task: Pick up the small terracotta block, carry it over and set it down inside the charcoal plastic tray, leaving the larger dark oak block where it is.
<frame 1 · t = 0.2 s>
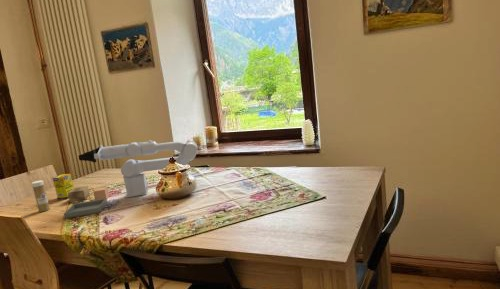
hand: (82, 156, 171), 21 cm above the table, tool horizontal, fingers open, 7 cm apart
tray: (86, 210, 163), on the table
sprinkles bottle: (44, 210, 172), on the table
terracotta block: (102, 199, 177), on the table
supplement box: (66, 197, 189), on the table
oak block: (80, 199, 182), on the table
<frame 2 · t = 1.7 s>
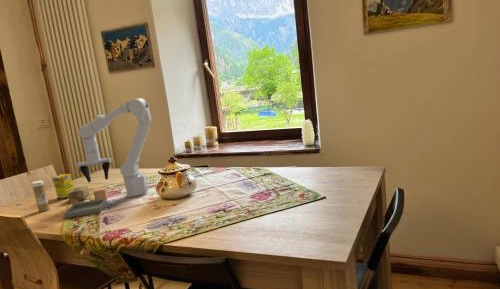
hand: (98, 180, 175), 9 cm above the table, tool pointing down, fingers open, 7 cm apart
nothing on the table moved.
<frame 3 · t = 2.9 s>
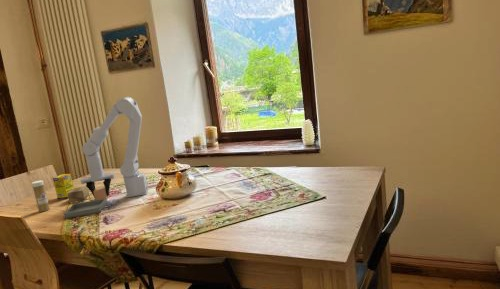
hand: (101, 196, 176), 1 cm above the table, tool pointing down, fingers closed on terracotta block, 5 cm apart
terracotta block: (102, 199, 177), on the table, touching gripper
everything else where it was.
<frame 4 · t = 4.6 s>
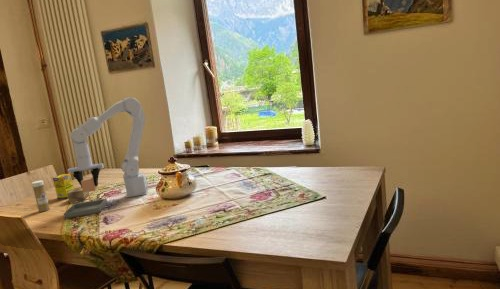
hand: (90, 186, 167), 8 cm above the table, tool pointing down, fingers closed on terracotta block, 5 cm apart
terracotta block: (90, 189, 168), point 7 cm above the table, touching gripper
everything else where it was.
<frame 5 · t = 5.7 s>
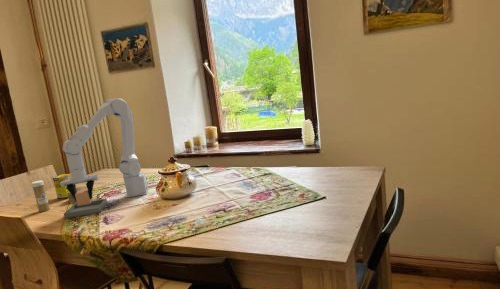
hand: (84, 199, 162), 5 cm above the table, tool pointing down, fingers closed on terracotta block, 5 cm apart
terracotta block: (85, 202, 162), point 3 cm above the table, touching gripper
everything else where it was.
when the fingers open (3 cm above the table, at t = 6.6 s): terracotta block stays where it is, resting on tray.
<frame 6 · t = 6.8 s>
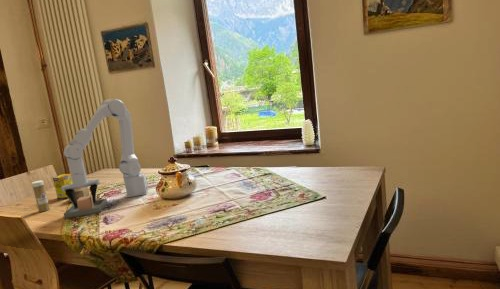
hand: (85, 204, 162), 3 cm above the table, tool pointing down, fingers open, 7 cm apart
terracotta block: (86, 209, 163), resting on tray
everything else where it was.
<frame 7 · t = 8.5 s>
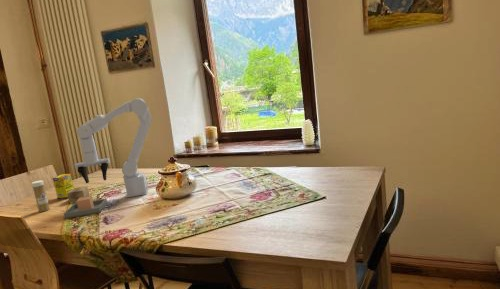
hand: (96, 181, 172), 9 cm above the table, tool pointing down, fingers open, 7 cm apart
nothing on the table moved.
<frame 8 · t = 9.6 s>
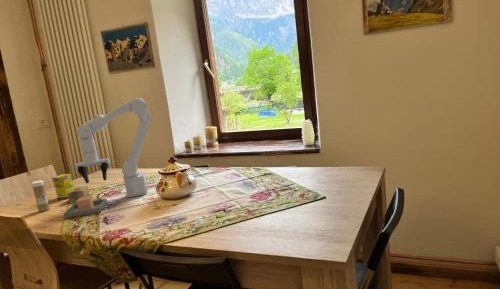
hand: (96, 181, 172), 9 cm above the table, tool pointing down, fingers open, 7 cm apart
nothing on the table moved.
at the end: terracotta block inside the target area on the tray (0.3 cm from its centre), point 0.5 cm above the tray's base; terracotta block tilted 0°; oak block moved 0.5 cm from its start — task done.
